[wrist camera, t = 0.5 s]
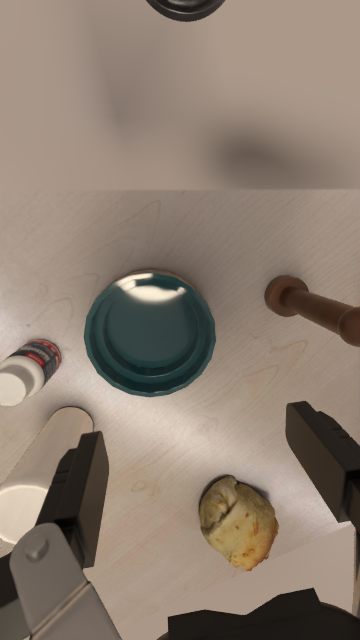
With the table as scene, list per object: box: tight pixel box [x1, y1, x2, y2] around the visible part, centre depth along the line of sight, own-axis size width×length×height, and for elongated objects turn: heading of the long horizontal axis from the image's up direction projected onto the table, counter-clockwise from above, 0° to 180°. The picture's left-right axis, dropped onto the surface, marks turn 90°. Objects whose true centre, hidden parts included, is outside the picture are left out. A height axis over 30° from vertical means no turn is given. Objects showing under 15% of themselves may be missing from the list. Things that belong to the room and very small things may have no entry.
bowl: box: [84, 269, 216, 397], centre depth 35 cm, size 15×15×6 cm
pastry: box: [199, 476, 279, 571], centre depth 43 cm, size 14×12×8 cm
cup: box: [0, 407, 93, 544], centre depth 34 cm, size 8×8×14 cm
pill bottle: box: [0, 340, 61, 406], centre depth 33 cm, size 5×5×9 cm
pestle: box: [265, 276, 360, 347], centre depth 29 cm, size 5×5×17 cm
